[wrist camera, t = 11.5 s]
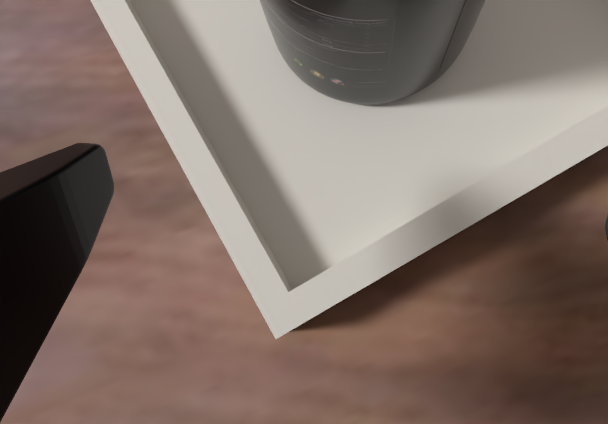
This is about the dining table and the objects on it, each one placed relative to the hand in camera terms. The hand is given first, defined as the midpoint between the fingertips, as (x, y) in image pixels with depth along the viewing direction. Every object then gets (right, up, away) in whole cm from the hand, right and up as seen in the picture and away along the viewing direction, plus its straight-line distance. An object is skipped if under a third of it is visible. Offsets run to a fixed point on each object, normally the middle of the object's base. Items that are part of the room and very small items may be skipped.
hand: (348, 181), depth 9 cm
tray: (+2, +6, +10) cm, 12 cm away
